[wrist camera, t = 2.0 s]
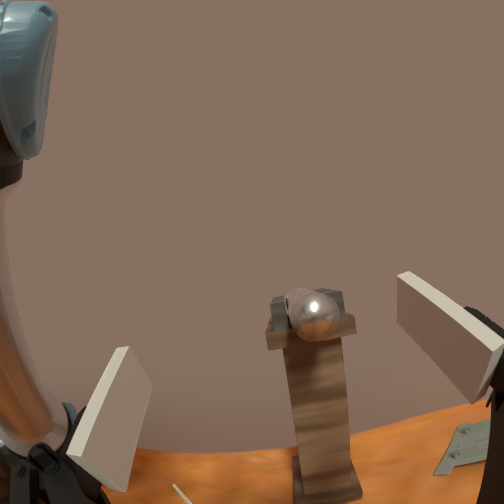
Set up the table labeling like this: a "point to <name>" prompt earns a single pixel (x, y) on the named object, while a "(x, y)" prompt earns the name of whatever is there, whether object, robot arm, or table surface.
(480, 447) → the metal bracket
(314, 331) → the chrome rounded rod
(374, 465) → the table surface
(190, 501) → the fork
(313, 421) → the walnut stand
